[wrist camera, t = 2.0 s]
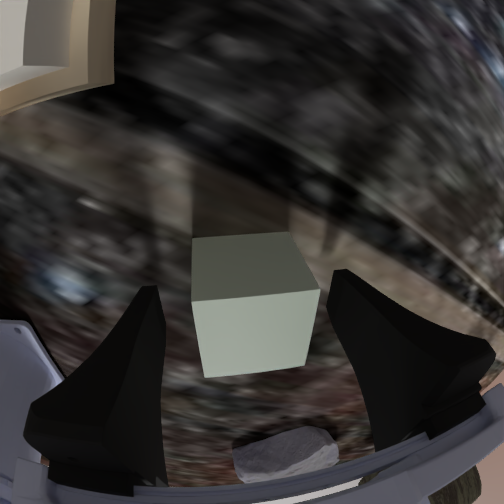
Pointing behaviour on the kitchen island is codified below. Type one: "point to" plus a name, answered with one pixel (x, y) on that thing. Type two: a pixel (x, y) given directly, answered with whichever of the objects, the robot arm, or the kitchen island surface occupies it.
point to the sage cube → (251, 303)
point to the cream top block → (33, 39)
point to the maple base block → (73, 59)
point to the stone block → (286, 455)
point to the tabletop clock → (451, 488)
